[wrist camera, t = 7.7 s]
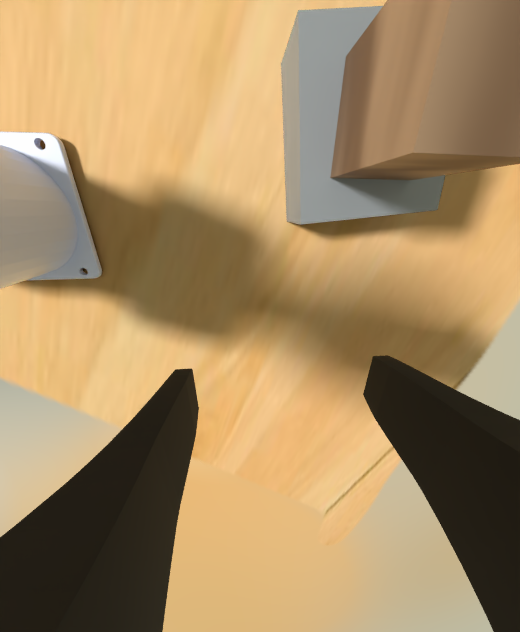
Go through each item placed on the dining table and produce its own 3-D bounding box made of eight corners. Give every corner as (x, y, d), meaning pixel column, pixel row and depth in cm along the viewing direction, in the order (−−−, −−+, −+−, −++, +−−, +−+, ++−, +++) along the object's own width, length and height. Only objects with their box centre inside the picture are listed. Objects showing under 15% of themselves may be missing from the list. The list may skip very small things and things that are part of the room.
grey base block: (285, 221, 16) (300, 224, 12) (279, 67, 13) (298, 10, 9) (393, 210, 17) (437, 210, 13) (416, 58, 13) (485, 0, 9)
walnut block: (330, 177, 12) (412, 152, 6) (345, 56, 10) (483, -130, 4) (410, 180, 12) (552, 158, 7) (441, 64, 10) (672, -95, 5)
